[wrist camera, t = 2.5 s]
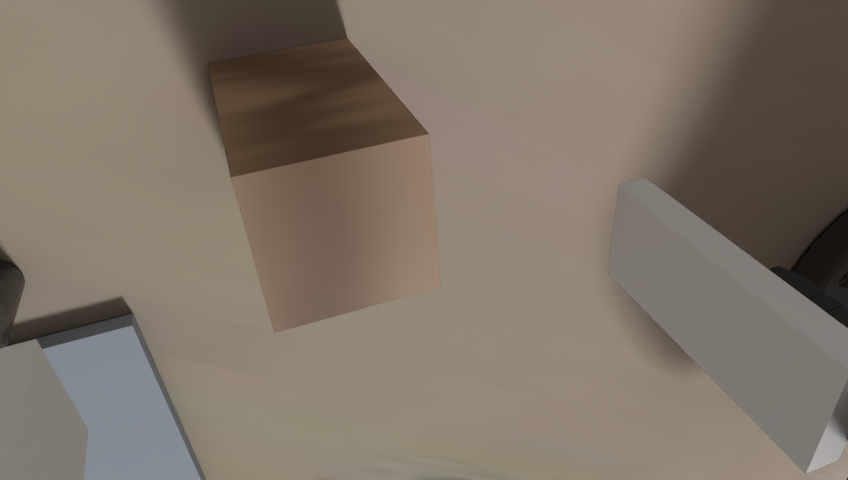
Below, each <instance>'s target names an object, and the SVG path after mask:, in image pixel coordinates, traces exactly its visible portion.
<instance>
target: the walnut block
mask: <svg viewBox="0 0 848 480" xmlns="http://www.w3.org/2000/svg"><path fill="white" fill-rule="evenodd" d="M208 66H209V71H210V76H211V81H212V86H213V91H214V96H215V101H216V106H217V111H218V116H219V121H220V126H221V131H222V136H223V141H224V146H225V151H226V156H227V161H228V166H229V171H230V176H231V180H232V184H233V187H234V191H235V194H236V198H237V202H238V205H239V209H240V212H241V216H242V219H243V223H244V227H245V230H246V234H247V237H248V241H249V244H250V248H251V252H252V255H253V259H254V262H255V266H256V269H257V273H258V277H259V280H260V284H261V287H262V291H263V294H264V298H265V302H266V305H267V309H268V312H269V316H270V319H271V323H272V327H273V330H274V333H276V332H280V331H284V330H287V329H291V328H294V327H298V326H302V325H305V324H309V323H312V322H316V321H320V320H323V319H327V318H330V317H334V316H338V315H341V314H345V313H348V312H352V311H356V310H359V309H363V308H366V307H370V306H374V305H377V304H381V303H384V302H388V301H392V300H395V299H399V298H402V297H406V296H410V295H413V294H417V293H420V292H424V291H428V290H431V289H435V288H438V287H441V281H440V268H439V255H438V243H437V230H436V217H435V204H434V191H433V179H432V166H431V153H430V140H429V133H428V132H427V131H426V130H425V129H424V127H423V126H422V125H421V124H420V123H419V122H418V120H417V119H416V118H415V117H414V116H413V115H412V113H411V112H410V111H409V110H408V109H407V108H406V106H405V105H404V104H403V103H402V102H401V100H400V99H399V98H398V97H397V96H396V95H395V93H394V92H393V91H392V90H391V89H390V88H389V86H388V85H387V84H386V83H385V82H384V81H383V79H382V78H381V77H380V76H379V75H378V73H377V72H376V71H375V70H374V69H373V68H372V66H371V65H370V64H369V63H368V62H367V61H366V59H365V58H364V57H363V56H362V55H361V54H360V52H359V51H358V50H357V49H356V48H355V46H354V45H353V44H352V43H351V42H350V41H349V39H348V38H346V39H340V40H335V41H329V42H324V43H318V44H312V45H307V46H301V47H296V48H290V49H284V50H279V51H273V52H268V53H262V54H256V55H251V56H245V57H240V58H234V59H228V60H223V61H217V62H212V63H208Z"/></svg>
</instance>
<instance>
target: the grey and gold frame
mask: <svg viewBox="0 0 848 480" xmlns="http://www.w3.org/2000/svg"><path fill="white" fill-rule="evenodd" d="M24 285H25V280H24V277H23V274H22V273H21V271H20V270H19V269H18V268H17V267H15V266H14V265H13V264H11V263H9V262H6V261H3V260H0V349H1V348H4V347H7V345H8V341H9V338H10V334H11V331H12V327H13V324H14V320H15V317H16V313H17V310H18V306H19V303H20V299H21V296H22V292H23V289H24Z"/></svg>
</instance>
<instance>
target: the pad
mask: <svg viewBox="0 0 848 480" xmlns="http://www.w3.org/2000/svg"><path fill="white" fill-rule="evenodd" d="M32 340H35V339H32ZM36 340H37V341H38V343H39V345H40V347H41V348H42V350H43V352H44V354H45V355H46V357H47V359H48V360H49V362H50V364H51V366H52V367H53V369H54V371H55V373H56V374H57V376H58V378H59V380H60V381H61V383H62V385H63V387H64V388H65V390H66V392H67V393H68V395H69V397H70V399H71V400H72V402H73V404H74V406H75V407H76V409H77V411H78V413H79V414H80V416H81V418H82V420H83V421H84V423H85V425H86V426H87V428H88V440H87V451H86V462H85V472H84V480H206V479H205V477H204V475H203V472H202V470H201V468H200V465H199V463H198V461H197V459H196V456H195V454H194V452H193V449H192V447H191V445H190V443H189V440H188V438H187V436H186V433H185V431H184V429H183V427H182V424H181V422H180V420H179V417H178V415H177V413H176V411H175V408H174V406H173V404H172V401H171V399H170V397H169V395H168V392H167V390H166V388H165V385H164V383H163V381H162V379H161V376H160V374H159V372H158V370H157V367H156V365H155V363H154V360H153V358H152V356H151V354H150V351H149V349H148V347H147V344H146V342H145V340H144V338H143V335H142V333H141V331H140V328H139V326H138V324H137V322H136V319H135V317H134V315H133V313H132V314H129V315H125V316H121V317H117V318H113V319H109V320H105V321H101V322H98V323H94V324H90V325H86V326H82V327H78V328H74V329H70V330H67V331H63V332H59V333H55V334H51V335H47V336H43V337H39V338H36ZM28 341H31V340H28ZM24 342H27V341H24ZM20 343H23V342H20ZM16 344H19V343H16ZM16 344H12V345H16ZM12 345H9V346H12ZM7 347H8V346H7Z"/></svg>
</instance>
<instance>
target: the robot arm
mask: <svg viewBox="0 0 848 480" xmlns="http://www.w3.org/2000/svg"><path fill="white" fill-rule="evenodd" d="M608 274H609V275H610V276H611V277H612V278H613V279H614V280H615V281H616V282H617V283H618V284H619V285H620V286H621V287H622V288H623V289H624V290H625V291H626V292H627V293H628V294H629V295H630V296H631V297H632V298H633V299H634V300H635V301H636V302H637V303H638V304H639V305H640V306H641V307H642V308H643V309H644V310H645V311H646V312H647V313H648V315H649V316H650V317H651V318H652V319H653V320H654V321H655V322H656V323H657V324H658V325H659V326H660V327H661V328H662V329H663V330H664V331H665V332H666V333H667V334H668V335H669V336H670V337H671V338H672V339H673V340H674V341H675V342H676V343H677V344H678V345H679V346H680V347H681V348H682V349H683V350H684V351H685V352H686V353H687V354H688V355H689V356H690V357H691V358H692V359H693V360H694V361H695V362H696V363H697V364H698V365H699V366H700V367H701V368H702V369H703V370H704V371H705V372H706V373H707V374H708V375H709V376H710V377H711V378H712V379H713V380H714V381H715V382H716V383H717V384H718V385H719V387H720V388H721V389H722V390H723V391H724V392H725V393H726V394H727V395H728V396H729V397H730V398H731V399H732V400H733V401H734V402H735V403H736V404H737V405H738V406H739V407H740V408H741V409H742V410H743V411H744V412H745V413H746V414H747V415H748V416H749V417H750V418H751V419H752V420H753V421H754V422H755V423H756V424H757V425H758V426H759V427H760V428H761V429H762V430H763V431H764V432H765V433H766V434H767V435H768V436H769V437H770V438H771V439H772V440H773V441H774V442H775V443H776V444H777V445H778V446H779V447H780V448H781V449H782V450H783V451H784V452H785V453H786V454H787V455H788V456H789V457H790V459H791V460H792V461H793V462H794V463H795V464H796V465H797V466H798V467H799V468H800V469H801V470H802V471H803V472H804V473H805V474H806V473H809V472H811V471H814V470H816V469H818V468H821V467H823V466H825V465H828V464H830V463H833V462H835V461H837V460H838V459H839V457H840V455H841V453H842V451H843V448H844V446H845V444H846V442H847V440H848V212H846V213H845V214H844V215H843V216H842V217H840V218H839V219H838V220H837V221H836V222H835V223H834V224H833V225H831V226H830V227H829V228H828V229H827V230H826V231H825V232H824V233H823V234H822V235H821V237H820V238H819V239H818V240H817V241H816V242H815V243H814V244H813V245H812V247H811V248H810V249H809V250H808V251H807V253H806V254H805V255H804V257H803V258H802V259H801V261H800V262H799V263H798V265H797V266H796V268H795V269H794V271H793V272H791V271H789V270H787V269H784V268H782V267H779V266H777V267H774V268H771V269H767V268H766V267H765V266H763V265H762V264H761V263H759V262H758V261H757V260H755V259H754V258H753V257H751V256H750V255H749V254H747V253H746V252H745V251H743V250H742V249H741V248H739V247H738V246H737V245H735V244H734V243H732V242H731V241H730V240H728V239H727V238H726V237H724V236H723V235H722V234H720V233H719V232H718V231H716V230H715V229H714V228H712V227H711V226H710V225H708V224H707V223H706V222H704V221H703V220H702V219H700V218H699V217H698V216H696V215H695V214H694V213H692V212H691V211H690V210H688V209H687V208H686V207H684V206H683V205H682V204H680V203H679V202H678V201H676V200H675V199H674V198H672V197H671V196H669V195H668V194H667V193H665V192H664V191H663V190H661V189H660V188H659V187H657V186H656V185H655V184H653V183H652V182H651V181H649V180H648V179H647V178H643V179H639V180H636V181H632V182H628V183H624V184H621V185H619V187H618V196H617V204H616V213H615V221H614V230H613V238H612V247H611V255H610V264H609V272H608ZM87 440H88V428H87V426H86V425H85V423H84V421H83V420H82V418H81V416H80V414H79V413H78V411H77V409H76V407H75V406H74V404H73V402H72V400H71V399H70V397H69V395H68V393H67V392H66V390H65V388H64V387H63V385H62V383H61V381H60V380H59V378H58V376H57V374H56V373H55V371H54V369H53V367H52V366H51V364H50V362H49V360H48V359H47V357H46V355H45V354H44V352H43V350H42V348H41V347H40V345H39V343H38V341H37V340H36V339H35V340H31V341H27V342H23V343H19V344H16V345H12V346H8V347H4V348H1V349H0V480H84V472H85V462H86V451H87ZM847 480H848V478H847Z"/></svg>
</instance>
